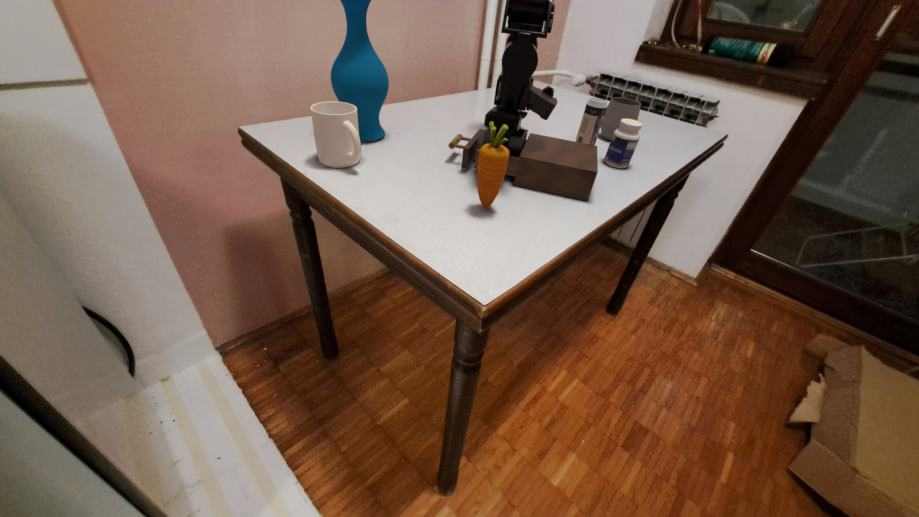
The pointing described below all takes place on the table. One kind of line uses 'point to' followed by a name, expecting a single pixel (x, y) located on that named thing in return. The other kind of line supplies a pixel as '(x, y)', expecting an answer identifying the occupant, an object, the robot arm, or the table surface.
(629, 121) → the pill bottle
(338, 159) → the mug
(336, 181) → the table surface
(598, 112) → the spice jar
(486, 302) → the table surface
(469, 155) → the drawer
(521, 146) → the black open box
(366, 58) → the vase
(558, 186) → the cabinet
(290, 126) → the table surface
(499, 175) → the carrot
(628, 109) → the cup
